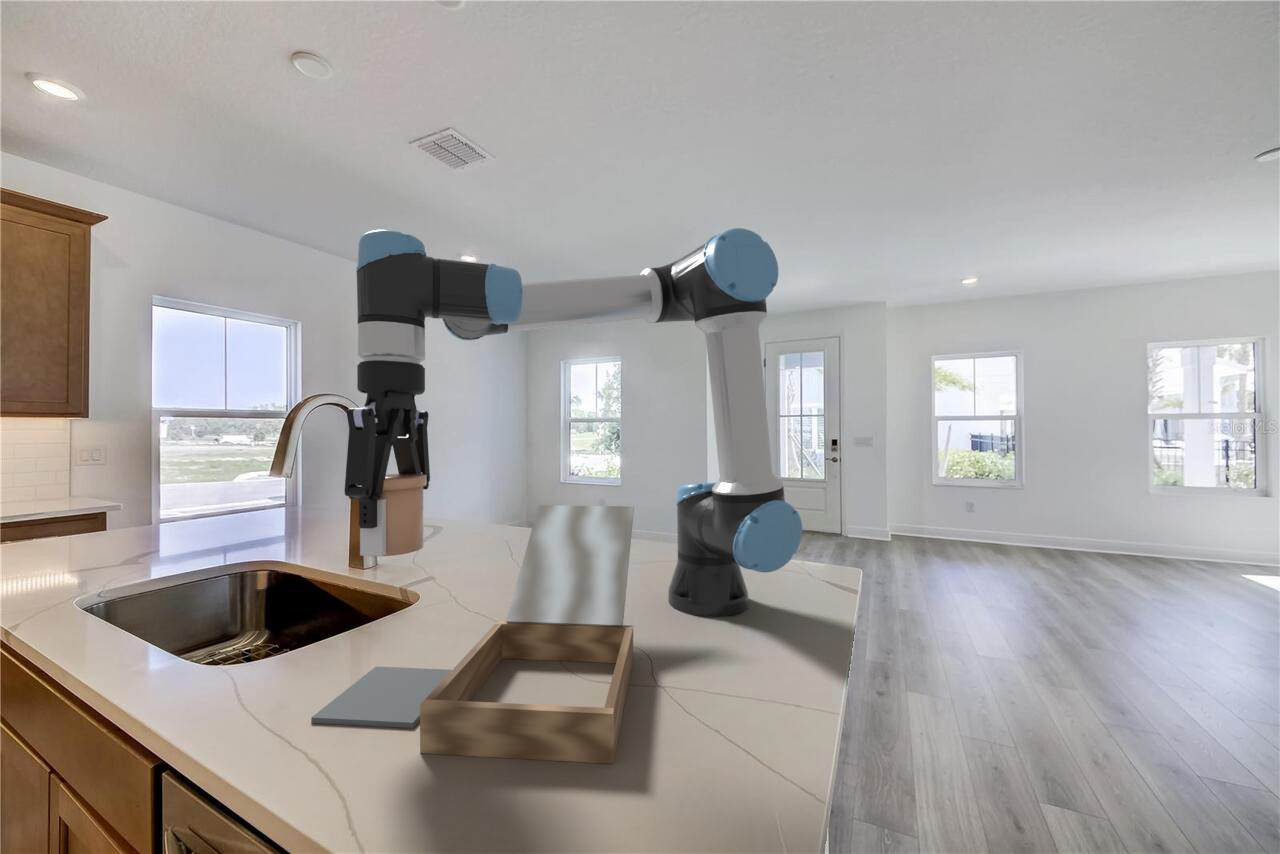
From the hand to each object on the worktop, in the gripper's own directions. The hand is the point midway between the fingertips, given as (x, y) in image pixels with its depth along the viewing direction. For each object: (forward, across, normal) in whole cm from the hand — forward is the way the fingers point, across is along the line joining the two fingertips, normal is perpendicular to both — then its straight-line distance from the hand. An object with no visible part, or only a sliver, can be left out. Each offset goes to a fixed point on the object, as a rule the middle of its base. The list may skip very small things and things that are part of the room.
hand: (392, 546), depth 62 cm
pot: (0, 0, 0) cm, 0 cm away
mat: (+19, 0, 0) cm, 19 cm away
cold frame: (+19, -9, +19) cm, 28 cm away
